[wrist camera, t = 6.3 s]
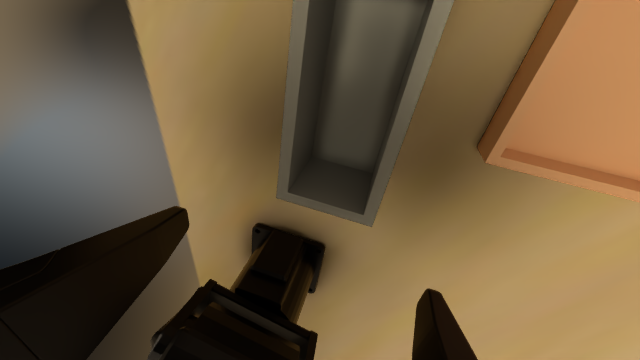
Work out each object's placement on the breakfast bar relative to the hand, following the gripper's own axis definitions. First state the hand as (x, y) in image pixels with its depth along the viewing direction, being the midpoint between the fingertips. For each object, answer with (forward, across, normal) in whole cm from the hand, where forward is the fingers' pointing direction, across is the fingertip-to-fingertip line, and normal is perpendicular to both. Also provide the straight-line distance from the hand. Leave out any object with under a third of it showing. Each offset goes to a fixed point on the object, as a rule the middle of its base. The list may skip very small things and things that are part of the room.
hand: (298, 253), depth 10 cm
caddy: (+10, 0, -4) cm, 10 cm away
